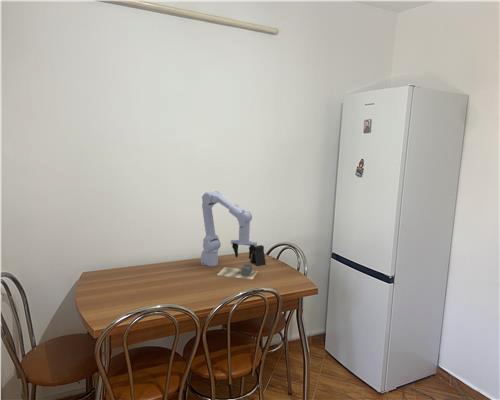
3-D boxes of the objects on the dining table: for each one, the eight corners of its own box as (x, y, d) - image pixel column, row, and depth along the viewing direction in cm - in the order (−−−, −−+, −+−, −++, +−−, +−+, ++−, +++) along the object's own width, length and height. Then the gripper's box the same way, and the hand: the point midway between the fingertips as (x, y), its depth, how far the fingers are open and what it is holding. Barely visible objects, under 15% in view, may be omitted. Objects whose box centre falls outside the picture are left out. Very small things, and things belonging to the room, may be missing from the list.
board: (216, 276, 198) (216, 275, 198) (224, 268, 211) (224, 267, 211) (252, 281, 193) (252, 279, 193) (258, 272, 207) (258, 270, 207)
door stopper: (266, 266, 218) (266, 247, 216) (257, 268, 215) (258, 248, 213) (257, 262, 225) (258, 243, 224) (249, 263, 222) (250, 244, 220)
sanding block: (241, 275, 198) (241, 267, 197) (244, 271, 205) (245, 263, 205) (248, 276, 197) (248, 268, 196) (251, 272, 204) (252, 264, 204)
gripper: (229, 234, 198) (228, 258, 200) (255, 236, 194) (254, 261, 196) (233, 231, 205) (232, 254, 207) (258, 233, 201) (257, 257, 203)
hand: (243, 257), depth 202 cm, fingers open, 7 cm apart
